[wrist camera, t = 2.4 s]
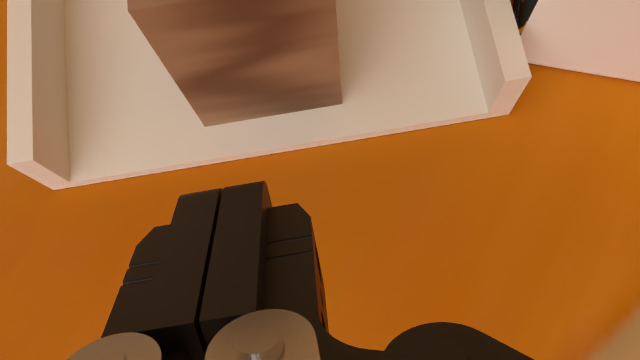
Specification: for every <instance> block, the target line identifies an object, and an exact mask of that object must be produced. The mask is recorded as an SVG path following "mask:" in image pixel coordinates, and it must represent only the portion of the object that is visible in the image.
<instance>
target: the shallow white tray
mask: <svg viewBox="0 0 640 360" xmlns="http://www.w3.org/2000/svg"><path fill="white" fill-rule="evenodd" d="M336 15H337V31H338V47H339V63H340V78H341V94H342V104H340V105H334V106H328V107H322V108H316V109H310V110H304V111H298V112H292V113H286V114H280V115H274V116H268V117H262V118H256V119H250V120H244V121H238V122H232V123H226V124H220V125H214V126H208V127H205V126H204V125H203V123H202V122H201V120H200V119H199V117H198V116H197V114H196V113H195V111H194V110H193V108H192V107H191V105H190V104H189V102H188V101H187V99H186V98H185V96H184V95H183V93H182V92H181V90H180V89H179V87H178V86H177V84H176V83H175V81H174V80H173V78H172V77H171V75H170V74H169V72H168V71H167V69H166V68H165V66H164V65H163V63H162V62H161V60H160V59H159V57H158V56H157V54H156V53H155V51H154V50H153V48H152V47H151V45H150V44H149V42H148V41H147V39H146V37H145V36H144V34H143V33H142V31H141V30H140V28H139V27H138V25H137V24H136V22H135V21H134V19H133V18H132V16H131V15H130V13H129V12H128V6H127V0H7V165H9V166H11V167H12V168H14V169H16V170H18V171H20V172H22V173H23V174H25V175H27V176H29V177H31V178H32V179H34V180H36V181H38V182H40V183H42V184H43V185H45V186H47V187H49V188H51V189H52V190H58V189H64V188H70V187H76V186H82V185H88V184H94V183H100V182H106V181H112V180H118V179H124V178H130V177H136V176H142V175H148V174H154V173H160V172H166V171H172V170H178V169H184V168H190V167H196V166H202V165H208V164H214V163H220V162H226V161H232V160H238V159H244V158H250V157H256V156H262V155H268V154H274V153H280V152H286V151H292V150H298V149H304V148H310V147H316V146H322V145H328V144H334V143H340V142H346V141H352V140H358V139H364V138H370V137H376V136H382V135H388V134H394V133H400V132H406V131H412V130H418V129H424V128H431V127H437V126H443V125H449V124H455V123H461V122H467V121H473V120H479V119H485V118H491V117H497V116H503V115H509V113H510V111H511V110H512V108H513V106H514V105H515V103H516V102H517V100H518V98H519V97H520V95H521V94H522V92H523V90H524V89H525V87H526V85H527V84H528V82H529V81H530V79H531V77H532V76H531V72H530V69H529V65H528V62H527V58H526V55H525V51H524V48H523V44H522V41H521V37H520V34H519V30H518V27H517V23H516V20H515V16H514V13H513V9H512V6H511V2H510V0H336Z"/></svg>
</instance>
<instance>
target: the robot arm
mask: <svg viewBox="0 0 640 360" xmlns="http://www.w3.org/2000/svg"><path fill="white" fill-rule="evenodd" d="M67 360H534V359H532V358H530V357H528V356H526V355H524V354H522V353H520V352H518V351H517V350H515V349H513V348H511V347H509V346H507V345H505V344H503V343H501V342H499V341H497V340H496V339H494V338H492V337H490V336H488V335H486V334H484V333H482V332H480V331H478V330H476V329H474V328H471V327H468V326H465V325H462V324H456V323H447V322H437V323H428V324H423V325H419V326H416V327H413V328H411V329H409V330H407V331H405V332H403V333H401V334H400V335H398V336H397V337H396V338H395V339H393V340H392V341H391V342H390V343H389V345H388V346H387V348H386V349H385V351H378V350H368V349H362V348H357V347H353V346H350V345H347V344H345V343H342V342H340V341H339V340H337V339H335V338H334V337H332V336H331V335H330V334H329V330H328V320H327V310H326V301H325V291H324V283H323V278H322V273H321V268H320V263H319V258H318V253H317V248H316V242H315V237H314V232H313V227H312V222H311V217H310V216H309V215H308V214H307V213H306V212H305V211H304V209H303V208H302V207H301V206H300V205H299V204H298V203H295V204H289V205H283V206H277V207H272V204H271V200H270V195H269V191H268V188H267V185H266V182H265V181H261V182H255V183H249V184H243V185H237V186H231V187H225V188H224V189H221V188H220V189H214V190H208V191H202V192H196V193H190V194H184V195H180V196H179V199H178V202H177V205H176V208H175V211H174V215H173V218H172V221H171V224H170V225H164V226H158V227H154V228H153V229H152V230H151V231H150V232H149V233H148V234H147V235H146V237H145V238H144V239H143V240H142V241H141V242H140V243H139V244H138V245H137V246H136V248H135V251H134V254H133V256H132V259H131V261H130V264H129V269H127V272H126V274H125V277H124V280H123V286H121V287H120V290H119V293H118V295H117V298H116V300H115V303H114V306H113V308H112V311H111V313H110V316H109V319H108V321H107V324H106V326H105V329H104V332H103V334H102V337H101V339H98V340H96V341H94V342H92V343H90V344H88V345H86V346H84V347H83V348H81V349H80V350H78V351H77V352H75V353H74V354H73V355H71V356H70V357H69V358H68V359H67Z"/></svg>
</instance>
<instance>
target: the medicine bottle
mask: <svg viewBox="0 0 640 360" xmlns="http://www.w3.org/2000/svg"><path fill="white" fill-rule="evenodd" d="M513 13H514V16H515V20H516V23H517V27H518V30H519V34H520V37H521V41H522V44H523V48H524V51H525V55H526V58H527V62H528V63H530V64H536V65H541V66H547V67H553V68H559V69H565V70H571V71H577V72H583V73H588V74H594V75H600V76H606V77H612V78H618V79H624V80H630V81H635V82H640V0H514V3H513Z"/></svg>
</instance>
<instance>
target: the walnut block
mask: <svg viewBox="0 0 640 360" xmlns="http://www.w3.org/2000/svg"><path fill="white" fill-rule="evenodd" d="M127 6H128V12H129V13H130V15H131V16H132V18H133V19H134V21H135V22H136V24H137V25H138V27H139V28H140V30H141V31H142V33H143V34H144V36H145V37H146V39H147V41H148V42H149V44H150V45H151V47H152V48H153V50H154V51H155V53H156V54H157V56H158V57H159V59H160V60H161V62H162V63H163V65H164V66H165V68H166V69H167V71H168V72H169V74H170V75H171V77H172V78H173V80H174V81H175V83H176V84H177V86H178V87H179V89H180V90H181V92H182V93H183V95H184V96H185V98H186V99H187V101H188V102H189V104H190V105H191V107H192V108H193V110H194V111H195V113H196V114H197V116H198V117H199V119H200V120H201V122H202V123H203V125H204V126H205V127H208V126H214V125H220V124H226V123H232V122H238V121H244V120H250V119H256V118H262V117H268V116H274V115H280V114H286V113H292V112H298V111H304V110H310V109H316V108H322V107H328V106H334V105H340V104H342V94H341V78H340V63H339V47H338V31H337V15H336V0H127Z"/></svg>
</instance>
